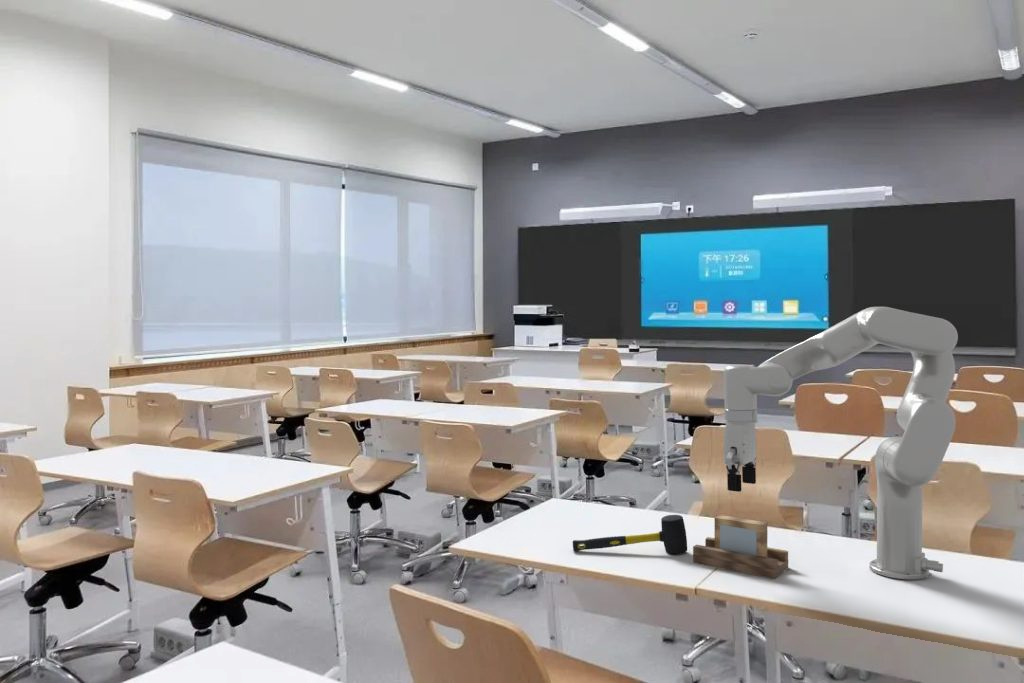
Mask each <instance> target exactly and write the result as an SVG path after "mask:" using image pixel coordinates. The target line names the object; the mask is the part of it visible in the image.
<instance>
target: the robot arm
mask: <svg viewBox="0 0 1024 683" xmlns="http://www.w3.org/2000/svg"><path fill="white" fill-rule="evenodd" d="M958 334H959V333H958V331H957V328H956V327H955V326H954V325H953V324H952V323H951V322H950V321H949V320H946V319H944V318H941V317H937V316H936V317H935V316H931V315H926V314H921V313H916V312H912V311H911V312H910V311H908V310H907V311H906V310H902V309H897V308H893V307H889V306H870V307H866V308H865V309H862V310H860V311H858V312H857V313H854V314H852V315H851V316H849V317H847V318H846V319H844V320H841V321H840V322H838V323H836V324H835V325H832V326H831V327H829V328H826V329H825V330H824V331H822V332H819V333H818V334H815V335H813V336H811V337H809V338H808V339H806V340H804V341H802V342H800V343H798V344H796V345H793V346H791V347H789V348H788V349H785V350H784V351H781V352H779V353H778V354H775V356H772V357H771V358H769V359H767V360H765V361H763V362H762V363H760V364H759V365H758V366H753V365H751V364H730V365H727V366H725V368H724V371H723V382H724V384H723V385H724V386H723V387H724V388H723V392H724V393H723V396H724V398H723V399H724V400H723V402H724V423H725V429H724V437H723V438H724V439H723V463H724V464H725V465H726V466H725V467H726V477H727V480H726V481H727V484H726V485H727V491H730V492H739V493H741V492H742V483H743V484H750V485H751V484H752V485H754V484H756V483H757V477H756V476H757V474H756V473H757V472H756V471H757V470H756V466H757V462H756V459H757V433H756V424H757V423H758V395H760V396H769V397H781V396H783V395H785V394H787V393H788V392H789V391H790V389H792V386H793V383H794V382H793V381H795V380H797V379H798V378H801V377H803V376H806V375H807V374H810V373H812V372H816V371H820V370H826V369H831V368H834V367H837V366H839V365H841V364H844V363H845V362H847V361H849V359H852V358H854V357H855V356H857V355H859V354H861V353H863V352H865V351H867V350H870V349H871V348H872V347H874V346H876V345H879V344H880V345H884V346H888V347H892V348H896V349H901V350H905V351H909V352H910V354H911V357H912V360H913V369H912V373H911V377H910V379H909V382H908V385H907V387H906V389H905V392H904V393H903V396H902V400H901V401H900V404H899V405H898V408H897V409H896V410H897V411H896V422H897V424H898V426H899V427H900V428H901V429H902V430H903V431H904V433H903V435H902V436H892V437H888V438H886V439H885V440H883V441H881V443H880V444H879V445H878V447H877V449H876V451H875V454H874V455H875V456H874V464H875V466H874V467H875V474H876V482H877V483H876V485H877V489H876V490H877V503H876V504H877V505H876V508H877V509H876V510H877V511H876V512H877V514H876V525H877V526H876V558H875V559H872V560H871V561H870V562H869V569H870V570H871V571H872V572H874V573H876V574H878V575H881V576H884V577H888V578H892V579H898V580H908V581H909V580H910V581H911V580H912V581H913V580H914V581H915V580H924V579H926V578H928V577H929V576H930V571H933V572H937V573H943V572H944V563H940V562H939V560H938V561H937V560H933V559H932V560H930V559H928V558H926V553H925V552H923V506H924V504H923V502H924V501H923V500H924V498H923V497H924V496H923V494H924V493H923V486H925V485H926V484H928V483H930V482H931V481H932V480H933V479H934V478H935V476H936V475H937V473H938V471H939V469H940V467H941V465H942V463H943V460H944V458H945V456H946V453H947V450H948V448H949V446H950V445H951V444H950V443H951V441H952V439H953V436H954V433H955V430H956V415H955V413H954V410H953V409H952V407H951V406H950V405H949V404H947V403H946V402H947V399H948V397H949V393H950V391H951V389H952V386H953V382H954V379H955V374H956V365H955V364H956V363H955V359H954V355H953V351H952V350H954V349H955V347H956V345H957V343H958V341H959V335H958ZM741 469H742V470H741ZM741 472H742V473H741ZM740 473H741V474H740Z"/></svg>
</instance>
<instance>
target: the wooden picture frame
mask: <svg viewBox="0 0 1024 683" xmlns="http://www.w3.org/2000/svg"><path fill="white" fill-rule="evenodd" d="M714 538H715V548H718V549H724V550H729V551H735V552H740V553H746V554H751V555H757V556H762V557H767V547H768V522H766V521H761V520H755V519H747V518H742V517H735V516H729V515H723V514H719V515H717V516H715V517H714Z"/></svg>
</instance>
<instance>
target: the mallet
mask: <svg viewBox="0 0 1024 683" xmlns="http://www.w3.org/2000/svg"><path fill="white" fill-rule="evenodd" d="M660 521H661V522H660V523H661V527H660V528H661V530H660V531H658V532H653V533H645V534H634V535H633V534H631V535H619V536H606V537H599V538H598V537H597V538H589V539H584V540H583V539H581V540H580V539H579V540H578V539H576V540H575V539H573V540H572V548H573V552H574V553H575V552H579V551H583V550H584V551H585V550H598V549H607V548H614V547H621V546H626V545H635V544H641V543H649V542H650V543H651V542H660V543H663V545H664V550H665V553H666V554H668V555H671V556H672V555H673V556H678V555H683V554H685V553H686V552H688V539H687V531H686V526H685V521H684V517H683V516H682V515H680V514H668V515H665V516H663V517H661V519H660Z"/></svg>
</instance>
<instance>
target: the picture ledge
mask: <svg viewBox="0 0 1024 683" xmlns="http://www.w3.org/2000/svg"><path fill="white" fill-rule="evenodd" d="M704 544H705V545H701V544H695V545H694V546H692V564H695V565H696V564H697V565H702V566H707V567H712V568H716V569H722V570H726V571H727V570H728V571H731V572H737V573H743V574H747V575H752V576H757V577H764V578H768V579H774V580H775V579H776V578H777V577H779V576H780V575H782V573H784V572H785V571H786V570H787V569H789V550H785V549H779V548H774V547H768V546H767V557H762V556H757V555H751V554H746V553H740V552H735V551H729V550H724V549H718V548H715V537H711V536H707V537H705V543H704Z"/></svg>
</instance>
